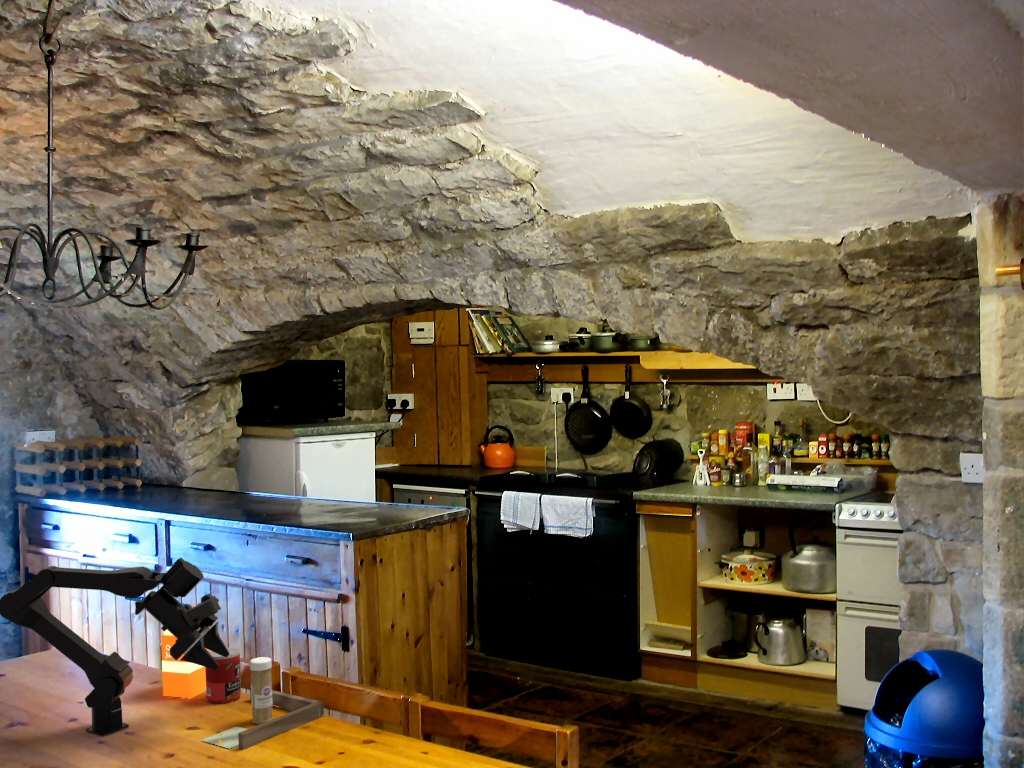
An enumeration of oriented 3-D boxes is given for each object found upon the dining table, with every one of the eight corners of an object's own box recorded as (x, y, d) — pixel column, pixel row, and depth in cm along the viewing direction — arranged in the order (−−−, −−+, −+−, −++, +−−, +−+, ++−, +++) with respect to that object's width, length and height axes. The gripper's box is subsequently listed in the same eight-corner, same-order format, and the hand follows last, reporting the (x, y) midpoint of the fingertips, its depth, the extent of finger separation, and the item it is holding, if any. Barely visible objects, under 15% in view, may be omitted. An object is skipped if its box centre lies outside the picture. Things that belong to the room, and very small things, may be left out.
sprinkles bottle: (263, 726, 204) (261, 663, 204) (247, 722, 206) (245, 661, 206) (278, 719, 208) (275, 657, 208) (262, 716, 210) (260, 655, 210)
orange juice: (162, 696, 226) (159, 612, 226) (186, 684, 234) (183, 603, 234) (190, 699, 224) (187, 614, 224) (213, 687, 232) (210, 605, 232)
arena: (168, 731, 203) (167, 717, 203) (255, 699, 222) (255, 686, 222) (237, 752, 190) (237, 737, 190) (323, 715, 209) (323, 702, 209)
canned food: (231, 704, 218) (229, 657, 218) (199, 703, 220) (198, 656, 220) (247, 693, 226) (245, 647, 226) (216, 692, 228) (215, 646, 228)
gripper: (184, 595, 197) (239, 646, 198) (207, 576, 216) (258, 623, 216) (146, 634, 196) (201, 685, 197) (172, 612, 215) (223, 659, 216)
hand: (223, 661), depth 207 cm, fingers open, 9 cm apart
